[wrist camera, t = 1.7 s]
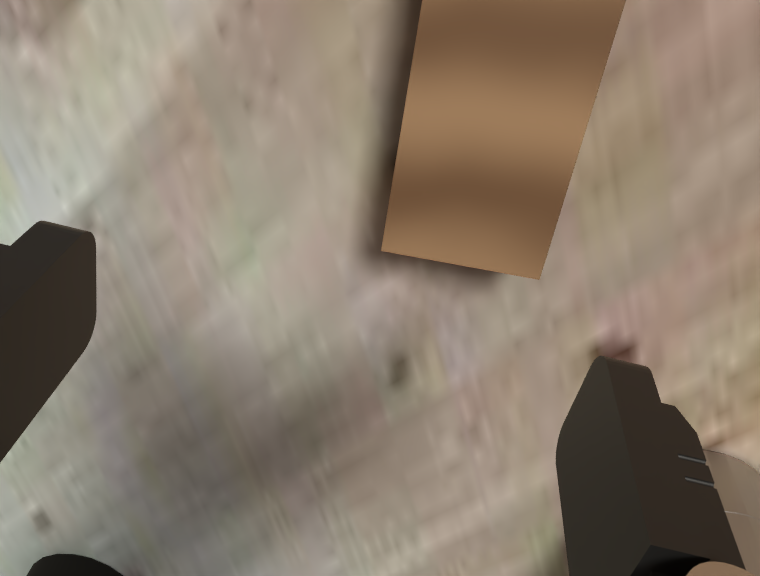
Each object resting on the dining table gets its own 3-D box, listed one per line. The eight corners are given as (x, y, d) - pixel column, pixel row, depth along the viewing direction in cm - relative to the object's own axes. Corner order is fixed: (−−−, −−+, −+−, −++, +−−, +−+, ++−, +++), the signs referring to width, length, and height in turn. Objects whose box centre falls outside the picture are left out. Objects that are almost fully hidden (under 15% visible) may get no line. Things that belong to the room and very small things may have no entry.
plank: (484, -348, 22) (486, -390, 18) (684, -315, 22) (734, -350, 17) (394, 194, 32) (380, 250, 27) (531, 219, 31) (539, 279, 27)
